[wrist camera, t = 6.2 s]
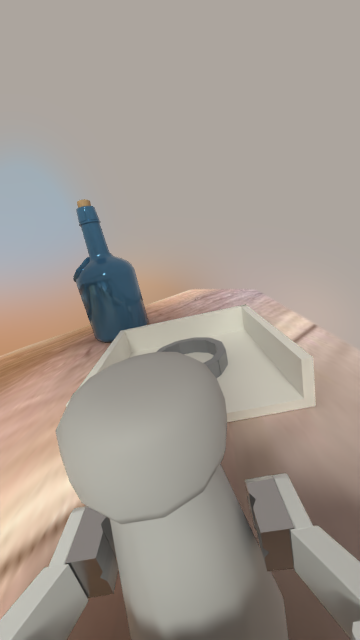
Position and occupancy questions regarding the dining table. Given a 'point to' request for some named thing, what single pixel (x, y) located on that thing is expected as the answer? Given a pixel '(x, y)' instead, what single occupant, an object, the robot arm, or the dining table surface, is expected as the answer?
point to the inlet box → (229, 358)
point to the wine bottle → (106, 283)
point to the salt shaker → (169, 501)
